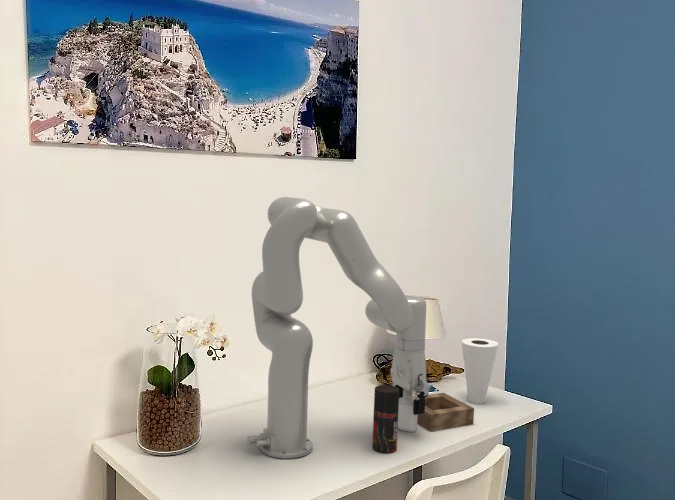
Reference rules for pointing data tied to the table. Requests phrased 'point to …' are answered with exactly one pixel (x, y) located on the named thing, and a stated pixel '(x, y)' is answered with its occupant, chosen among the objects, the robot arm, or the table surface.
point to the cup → (478, 366)
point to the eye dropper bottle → (406, 413)
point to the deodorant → (385, 419)
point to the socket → (445, 413)
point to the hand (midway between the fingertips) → (408, 407)
